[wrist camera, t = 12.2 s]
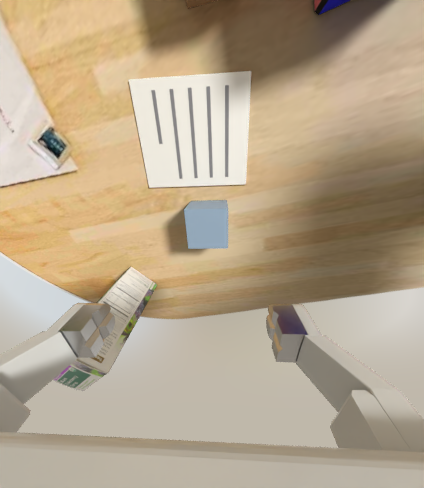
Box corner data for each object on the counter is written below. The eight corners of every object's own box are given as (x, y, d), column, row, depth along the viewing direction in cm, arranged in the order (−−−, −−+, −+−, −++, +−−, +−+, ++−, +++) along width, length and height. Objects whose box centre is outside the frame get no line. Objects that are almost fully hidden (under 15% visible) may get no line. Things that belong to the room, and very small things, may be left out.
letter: (251, 71, 17) (251, 70, 17) (245, 184, 22) (245, 184, 21) (129, 80, 18) (128, 79, 17) (149, 187, 22) (149, 187, 22)
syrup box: (140, 300, 32) (84, 395, 19) (113, 282, 30) (32, 372, 17) (158, 284, 30) (109, 377, 17) (130, 264, 28) (52, 350, 15)
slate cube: (226, 199, 23) (228, 208, 18) (226, 233, 25) (227, 248, 20) (191, 201, 23) (184, 209, 19) (193, 233, 25) (188, 248, 21)
